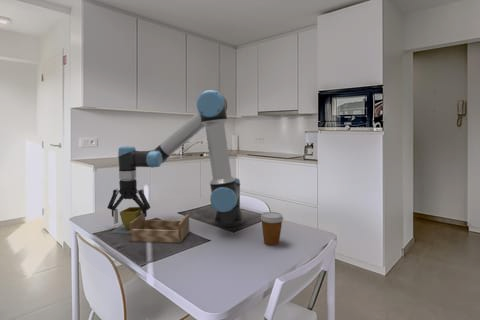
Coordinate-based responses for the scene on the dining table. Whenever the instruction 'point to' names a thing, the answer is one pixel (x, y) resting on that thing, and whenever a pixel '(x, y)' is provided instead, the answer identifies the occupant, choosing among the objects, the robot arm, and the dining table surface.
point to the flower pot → (130, 215)
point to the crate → (158, 230)
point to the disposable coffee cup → (271, 227)
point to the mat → (121, 230)
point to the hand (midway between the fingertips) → (129, 223)
